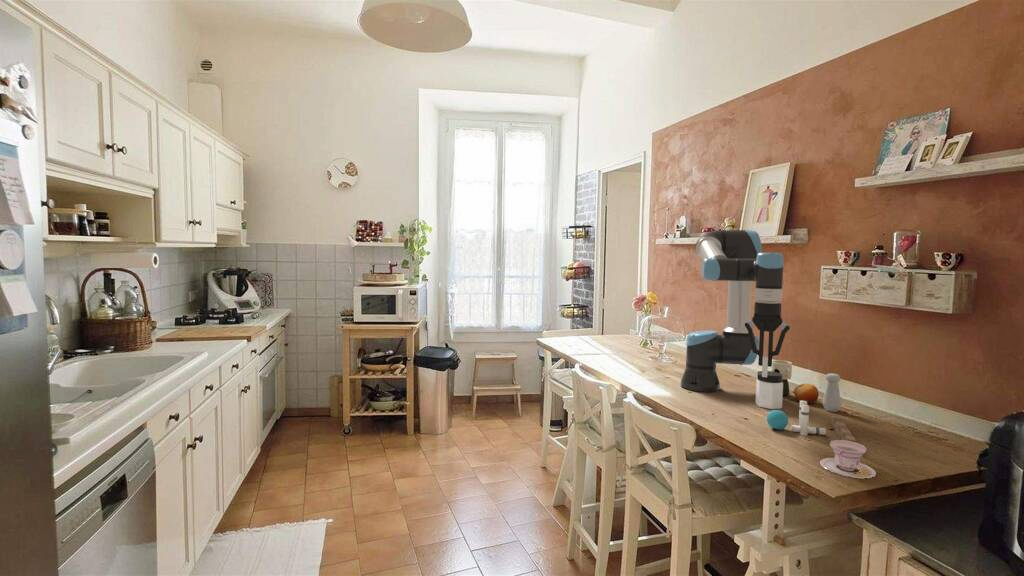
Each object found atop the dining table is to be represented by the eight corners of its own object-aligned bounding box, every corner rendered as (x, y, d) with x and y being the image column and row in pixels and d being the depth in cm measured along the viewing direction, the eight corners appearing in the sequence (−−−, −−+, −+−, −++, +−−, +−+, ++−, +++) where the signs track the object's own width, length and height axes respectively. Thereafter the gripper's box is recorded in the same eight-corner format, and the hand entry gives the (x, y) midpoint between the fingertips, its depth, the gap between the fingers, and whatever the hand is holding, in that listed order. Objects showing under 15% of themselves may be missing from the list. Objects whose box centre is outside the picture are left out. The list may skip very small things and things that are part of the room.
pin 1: (796, 428, 159) (798, 400, 158) (803, 428, 159) (804, 400, 158) (800, 430, 157) (802, 402, 156) (807, 430, 157) (808, 402, 156)
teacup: (830, 456, 137) (831, 434, 137) (882, 471, 128) (884, 447, 127) (812, 467, 130) (813, 444, 130) (866, 484, 120) (867, 459, 120)
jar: (751, 405, 183) (753, 373, 182) (758, 401, 189) (760, 369, 188) (778, 411, 176) (780, 377, 176) (785, 406, 182) (786, 373, 182)
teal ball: (767, 404, 160) (789, 407, 157) (767, 419, 163) (788, 423, 160) (765, 415, 156) (787, 419, 153) (765, 431, 158) (787, 435, 155)
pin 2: (798, 433, 154) (800, 404, 154) (805, 433, 154) (806, 404, 154) (802, 435, 152) (804, 406, 151) (809, 435, 152) (811, 406, 152)
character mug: (763, 390, 203) (765, 358, 202) (781, 390, 204) (782, 359, 203) (779, 398, 192) (781, 364, 191) (797, 398, 193) (799, 364, 192)
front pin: (792, 424, 155) (826, 427, 152) (791, 424, 157) (824, 428, 154) (792, 431, 155) (826, 435, 152) (791, 431, 157) (824, 435, 153)
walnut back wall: (856, 452, 140) (857, 441, 140) (848, 450, 141) (848, 440, 140) (838, 425, 162) (839, 416, 162) (831, 424, 163) (832, 415, 162)
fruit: (827, 402, 183) (816, 383, 183) (806, 411, 184) (795, 392, 185) (818, 396, 191) (807, 377, 191) (799, 405, 192) (788, 387, 193)
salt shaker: (843, 410, 178) (845, 374, 177) (838, 413, 174) (840, 376, 173) (824, 406, 182) (826, 371, 181) (819, 409, 178) (821, 373, 177)
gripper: (744, 301, 157) (741, 376, 158) (792, 304, 151) (788, 381, 152) (745, 299, 163) (742, 371, 165) (791, 302, 157) (787, 376, 159)
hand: (764, 376), depth 159 cm, fingers closed
